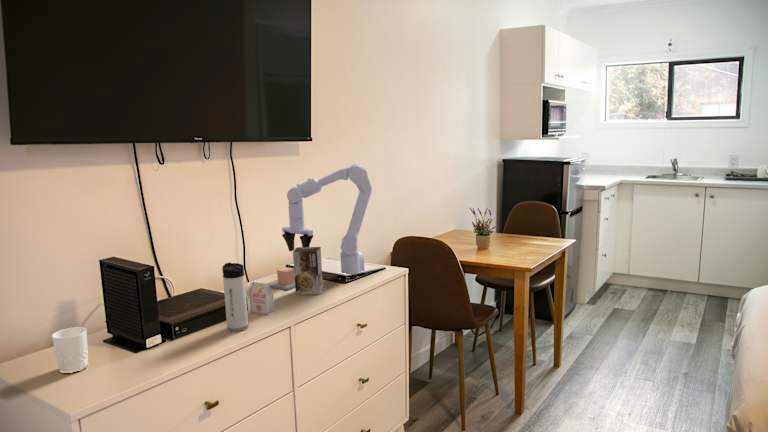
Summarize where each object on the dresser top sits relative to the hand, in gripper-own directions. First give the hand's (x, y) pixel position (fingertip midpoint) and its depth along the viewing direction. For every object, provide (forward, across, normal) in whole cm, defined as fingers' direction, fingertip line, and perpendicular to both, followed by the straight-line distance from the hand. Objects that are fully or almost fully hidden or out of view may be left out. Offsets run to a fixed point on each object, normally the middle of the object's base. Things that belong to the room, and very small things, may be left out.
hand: (298, 251), depth 226 cm
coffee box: (+11, +16, -12) cm, 23 cm away
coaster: (+10, +2, -9) cm, 14 cm away
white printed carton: (+11, +17, -36) cm, 41 cm away
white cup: (+11, +6, -92) cm, 93 cm away
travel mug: (+11, +21, -50) cm, 55 cm away
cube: (+10, +2, -9) cm, 14 cm away
